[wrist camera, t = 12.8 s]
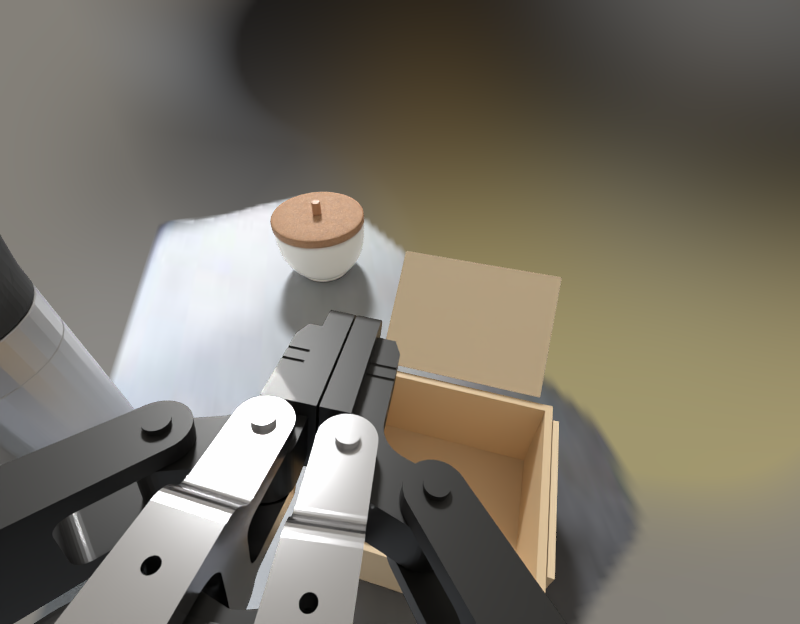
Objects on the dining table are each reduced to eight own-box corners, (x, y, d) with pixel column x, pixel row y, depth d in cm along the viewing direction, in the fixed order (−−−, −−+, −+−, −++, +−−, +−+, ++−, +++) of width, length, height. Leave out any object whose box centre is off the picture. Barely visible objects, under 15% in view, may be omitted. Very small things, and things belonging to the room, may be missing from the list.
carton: (309, 566, 30) (288, 526, 25) (367, 417, 39) (362, 362, 33) (523, 639, 27) (554, 612, 22) (535, 460, 36) (559, 408, 30)
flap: (381, 361, 33) (406, 250, 34) (382, 361, 33) (407, 252, 35) (539, 397, 31) (561, 277, 32) (538, 397, 31) (560, 279, 32)
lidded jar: (282, 248, 58) (266, 184, 51) (360, 237, 59) (355, 174, 53) (284, 301, 50) (267, 234, 44) (374, 287, 52) (370, 221, 45)
